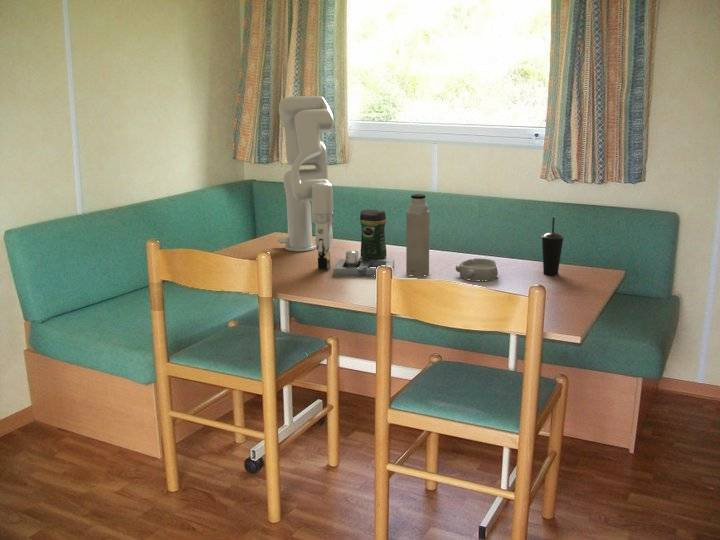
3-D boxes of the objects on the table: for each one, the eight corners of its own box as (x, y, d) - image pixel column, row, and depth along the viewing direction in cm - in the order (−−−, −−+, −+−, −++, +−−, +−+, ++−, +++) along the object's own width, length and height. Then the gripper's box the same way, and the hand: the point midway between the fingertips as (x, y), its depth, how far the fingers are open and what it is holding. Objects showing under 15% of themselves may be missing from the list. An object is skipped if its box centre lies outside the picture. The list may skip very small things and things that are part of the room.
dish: (490, 270, 275) (490, 256, 273) (505, 281, 262) (506, 266, 260) (451, 273, 272) (451, 259, 270) (465, 284, 259) (465, 269, 257)
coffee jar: (389, 257, 294) (389, 209, 289) (379, 261, 288) (378, 212, 283) (368, 254, 299) (367, 206, 294) (357, 258, 293) (356, 210, 288)
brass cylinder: (317, 270, 278) (316, 251, 276) (319, 267, 282) (318, 248, 280) (329, 270, 277) (328, 251, 275) (331, 267, 281) (330, 248, 279)
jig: (333, 275, 270) (333, 268, 269) (340, 265, 284) (339, 258, 283) (390, 277, 268) (390, 270, 267) (394, 266, 281) (394, 259, 280)
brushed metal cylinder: (345, 272, 274) (344, 253, 272) (347, 269, 279) (346, 250, 277) (357, 272, 274) (357, 253, 272) (359, 269, 278) (358, 250, 276)
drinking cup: (549, 278, 263) (552, 220, 258) (534, 273, 270) (537, 216, 264) (566, 275, 267) (570, 218, 261) (551, 270, 273) (554, 214, 268)
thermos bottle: (401, 273, 271) (401, 195, 264) (416, 269, 277) (417, 192, 269) (418, 278, 266) (419, 197, 258) (433, 273, 271) (434, 194, 264)
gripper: (329, 222, 266) (330, 272, 270) (337, 212, 282) (338, 260, 287) (307, 222, 267) (309, 272, 271) (316, 212, 283) (318, 260, 288)
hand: (324, 265), depth 279 cm, fingers open, 6 cm apart
